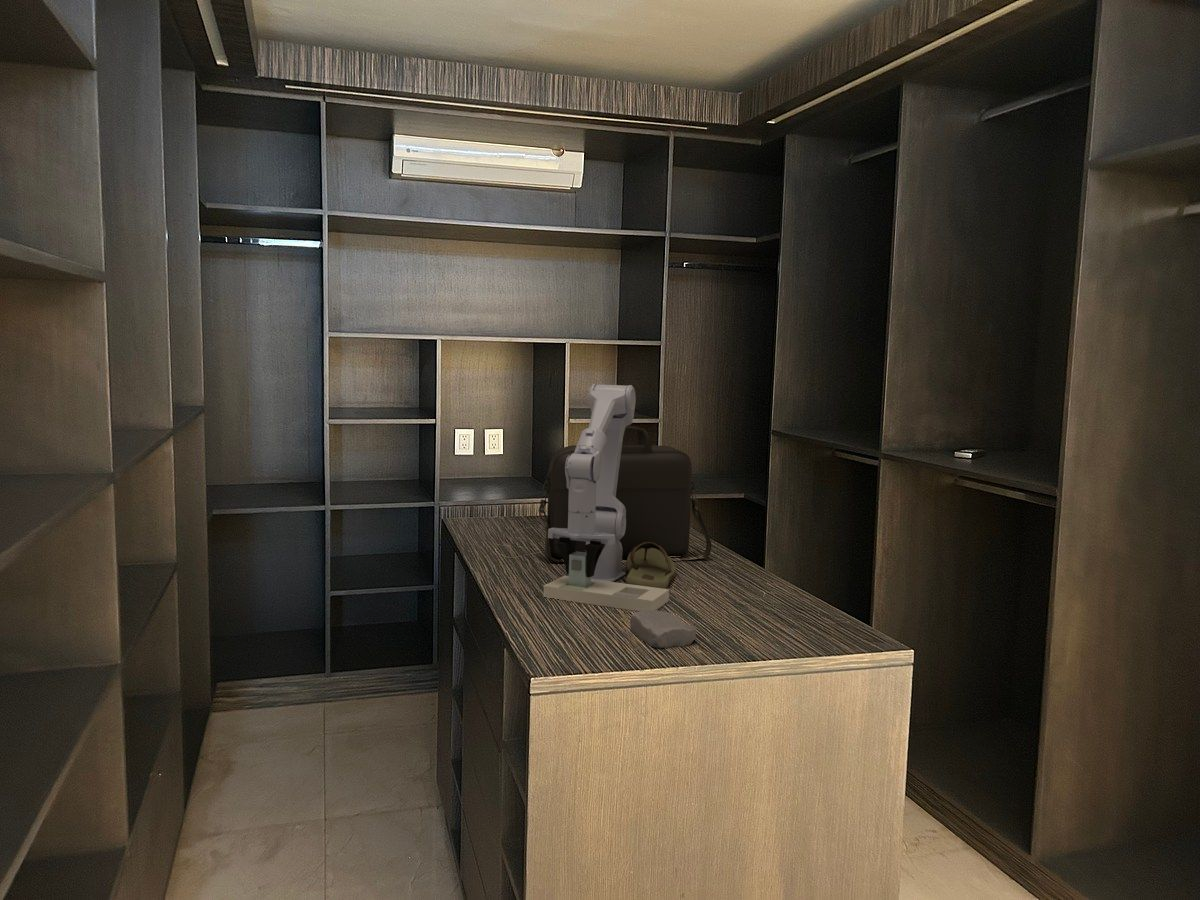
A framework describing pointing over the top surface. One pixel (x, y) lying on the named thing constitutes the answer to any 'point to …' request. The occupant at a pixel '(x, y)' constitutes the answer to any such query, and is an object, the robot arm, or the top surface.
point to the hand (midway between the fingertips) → (580, 575)
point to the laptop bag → (635, 498)
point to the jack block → (608, 594)
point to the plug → (578, 570)
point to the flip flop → (649, 566)
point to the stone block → (661, 629)
